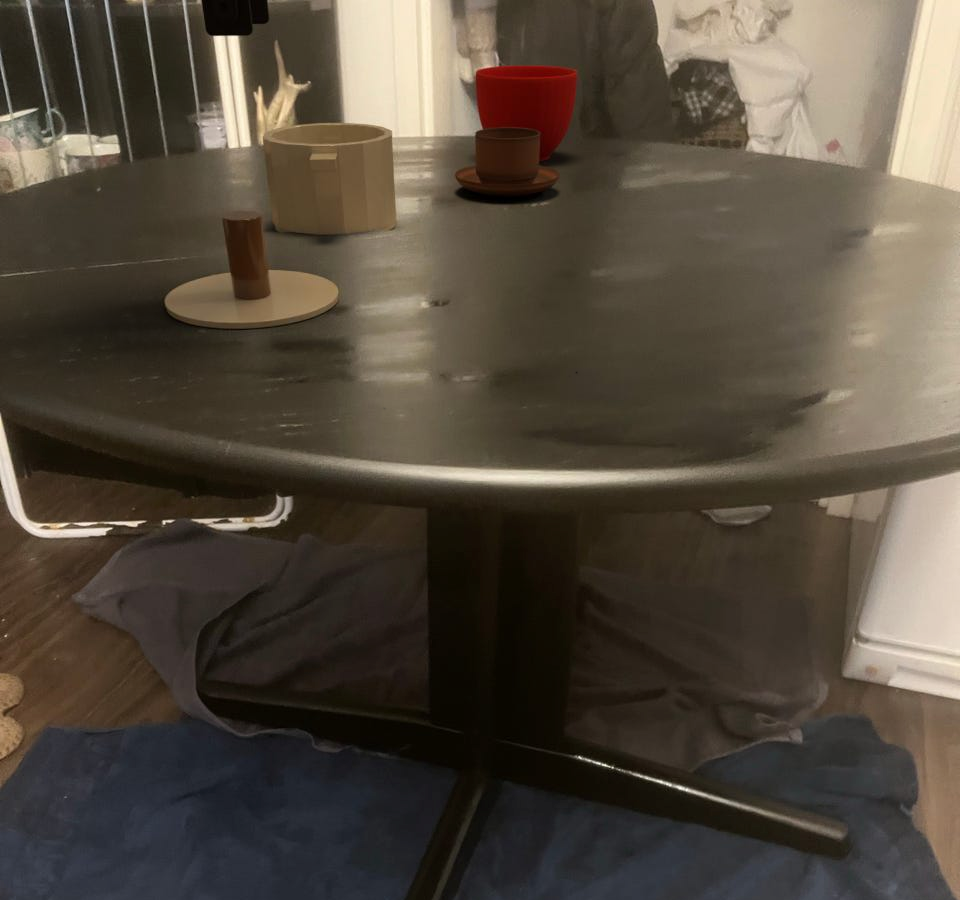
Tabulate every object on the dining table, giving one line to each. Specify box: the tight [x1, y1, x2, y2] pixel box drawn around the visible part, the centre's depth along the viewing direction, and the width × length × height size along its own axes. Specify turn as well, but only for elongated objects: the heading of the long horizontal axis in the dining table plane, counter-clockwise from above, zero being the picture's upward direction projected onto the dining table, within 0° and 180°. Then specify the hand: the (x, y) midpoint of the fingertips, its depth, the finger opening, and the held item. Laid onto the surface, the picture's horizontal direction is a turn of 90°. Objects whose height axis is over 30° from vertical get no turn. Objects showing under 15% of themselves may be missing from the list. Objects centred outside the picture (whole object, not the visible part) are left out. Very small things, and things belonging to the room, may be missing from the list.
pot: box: [262, 122, 397, 236], centre depth 99 cm, size 13×18×8 cm
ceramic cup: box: [475, 65, 578, 162], centre depth 128 cm, size 13×17×10 cm
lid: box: [164, 210, 340, 330], centre depth 77 cm, size 14×14×7 cm
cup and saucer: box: [454, 127, 560, 197], centre depth 112 cm, size 12×12×6 cm
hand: (240, 29), depth 72 cm, fingers open, 9 cm apart
